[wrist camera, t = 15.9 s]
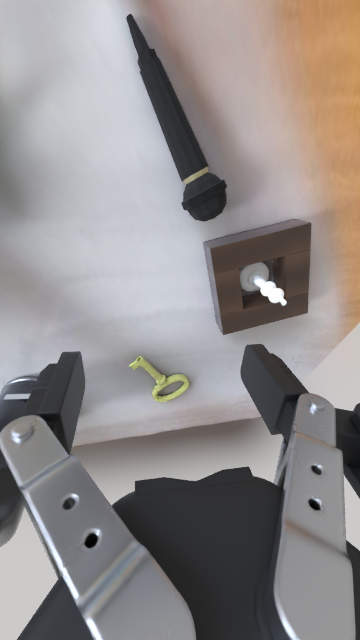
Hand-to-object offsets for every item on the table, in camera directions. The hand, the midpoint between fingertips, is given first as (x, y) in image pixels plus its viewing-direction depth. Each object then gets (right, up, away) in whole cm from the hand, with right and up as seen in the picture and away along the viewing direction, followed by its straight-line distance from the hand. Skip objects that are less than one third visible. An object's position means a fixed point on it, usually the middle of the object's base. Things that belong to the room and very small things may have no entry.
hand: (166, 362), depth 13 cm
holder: (+12, +9, +27) cm, 31 cm away
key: (-3, -8, +34) cm, 35 cm away
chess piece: (+12, +9, +27) cm, 31 cm away
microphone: (+1, +24, +17) cm, 30 cm away
